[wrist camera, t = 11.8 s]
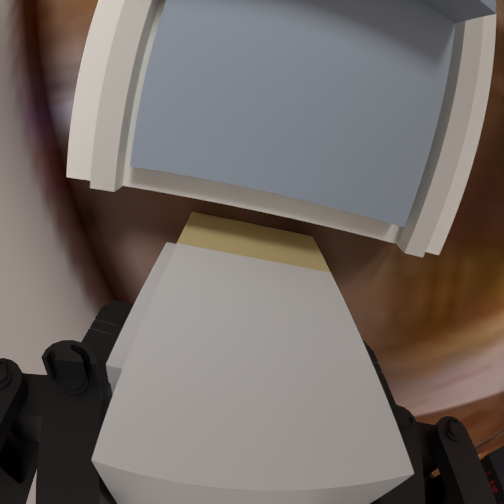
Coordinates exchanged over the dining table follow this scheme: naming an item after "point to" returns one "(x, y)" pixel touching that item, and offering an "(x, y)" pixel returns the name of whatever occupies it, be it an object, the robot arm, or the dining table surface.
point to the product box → (495, 473)
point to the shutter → (301, 96)
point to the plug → (248, 382)
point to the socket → (122, 174)
